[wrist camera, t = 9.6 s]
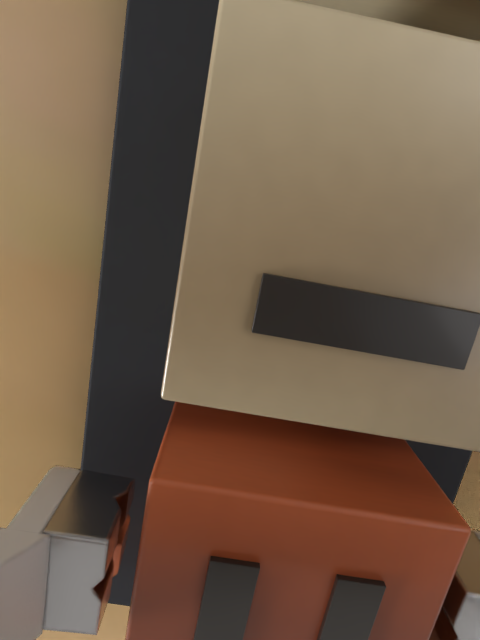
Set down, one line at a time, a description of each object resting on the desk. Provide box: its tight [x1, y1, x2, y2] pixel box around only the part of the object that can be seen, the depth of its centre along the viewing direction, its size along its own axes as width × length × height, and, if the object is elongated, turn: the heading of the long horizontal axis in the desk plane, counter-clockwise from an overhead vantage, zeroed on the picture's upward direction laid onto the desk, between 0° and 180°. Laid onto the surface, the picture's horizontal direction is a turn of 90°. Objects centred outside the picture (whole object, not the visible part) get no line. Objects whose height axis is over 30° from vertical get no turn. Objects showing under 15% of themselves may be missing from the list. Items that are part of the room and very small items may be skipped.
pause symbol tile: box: [125, 402, 471, 640], centre depth 7 cm, size 4×4×3 cm
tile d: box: [161, 0, 480, 452], centre depth 6 cm, size 4×4×3 cm
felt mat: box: [81, 0, 472, 606], centre depth 8 cm, size 17×8×1 cm, turn 170°
